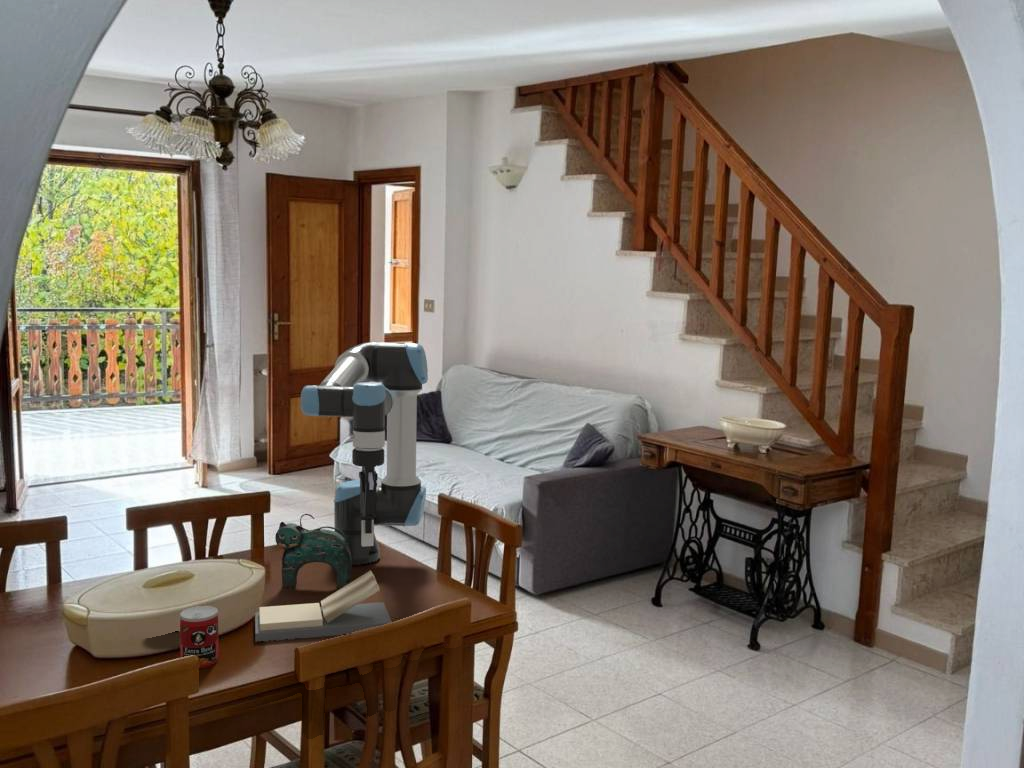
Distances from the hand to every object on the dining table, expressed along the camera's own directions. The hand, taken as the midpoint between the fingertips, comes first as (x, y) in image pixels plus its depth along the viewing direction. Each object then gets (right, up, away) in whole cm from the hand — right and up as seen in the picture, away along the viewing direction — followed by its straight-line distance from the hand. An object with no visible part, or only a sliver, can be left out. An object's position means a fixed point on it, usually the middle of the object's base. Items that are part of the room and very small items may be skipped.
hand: (367, 545), depth 213 cm
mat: (-11, -19, -1) cm, 22 cm away
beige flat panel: (-4, -13, +1) cm, 13 cm away
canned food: (-32, -21, -22) cm, 45 cm away
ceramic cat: (-19, -16, +27) cm, 37 cm away
